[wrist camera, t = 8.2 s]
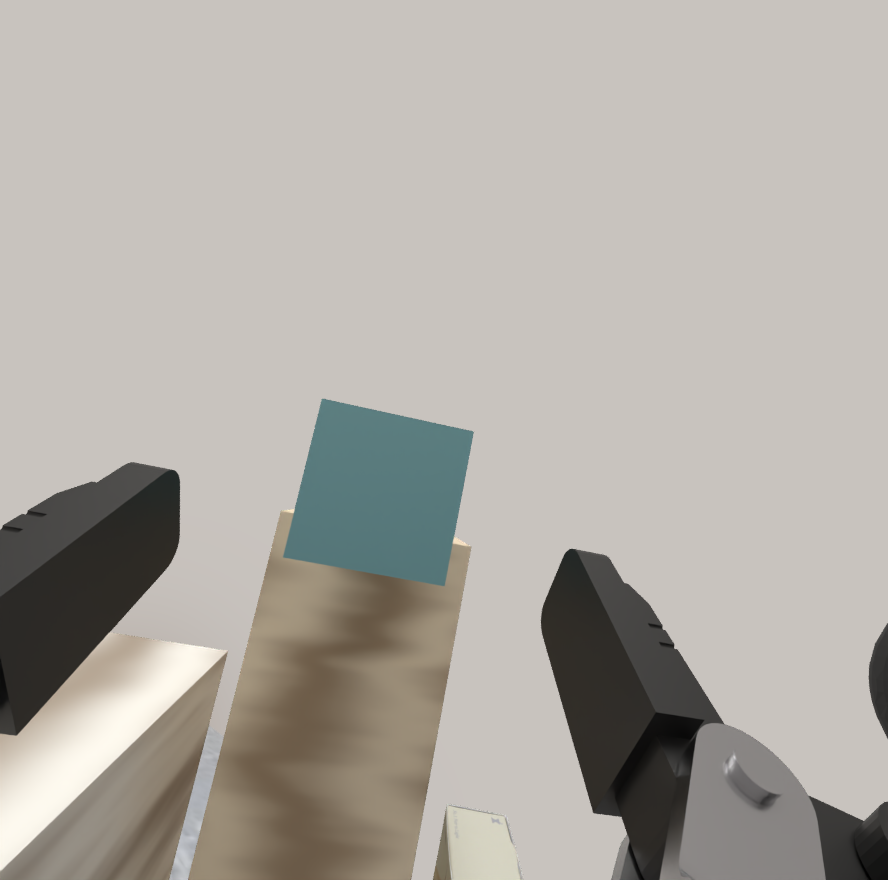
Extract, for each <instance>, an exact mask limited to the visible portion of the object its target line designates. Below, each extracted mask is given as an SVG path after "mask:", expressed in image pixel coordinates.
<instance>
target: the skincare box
mask: <svg viewBox="0 0 888 880" xmlns="http://www.w3.org/2000/svg"><path fill="white" fill-rule="evenodd" d="M433 880H523V876H522V871H521V867H520V863H519V859H518V855H517V851H516V848H515V844H514V840H513V836H512V833H511V830H510V825H509V822H508V818H507V816H506V815H502V814H496V813H492V812H487V811H482V810H477V809H472V808H468V807H461V806H457V805H452V804H447V807H446V813H445V818H444V824H443V830H442V835H441V840H440V846H439V851H438V856H437V861H436V866H435V872H434V878H433Z"/></svg>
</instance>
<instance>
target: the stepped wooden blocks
mask: <svg viewBox="0 0 888 880" xmlns="http://www.w3.org/2000/svg"><path fill="white" fill-rule="evenodd" d="M294 510H295V509H291V510H283V511H281V513H280V517H279V521H278V525H277V529H276V533H275V536H274V541H273V544H272V548H271V552H270V556H269V560H268V564H267V568H266V572H265V576H264V580H263V584H262V588H261V592H260V596H259V600H258V604H257V608H256V612H255V616H254V620H253V624H252V628H251V632H250V636H249V640H248V644H247V648H246V652H245V656H244V660H243V664H242V668H241V672H240V675H239V680H238V683H237V688H236V692H235V695H234V699H233V703H232V707H231V711H230V715H229V719H228V723H227V727H226V732H225V735H224V739H223V743H222V747H221V751H220V755H219V759H218V763H217V767H216V771H215V775H214V779H213V783H212V787H211V791H210V795H209V799H208V802H207V806H206V810H205V814H204V818H203V822H202V826H201V830H200V834H199V838H198V842H197V846H196V850H195V854H194V858H193V862H192V866H191V870H190V874H189V878H188V880H411V877H412V872H413V866H414V861H415V855H416V849H417V843H418V839H419V833H420V828H421V822H422V816H423V810H424V805H425V800H426V794H427V789H428V783H429V778H430V772H431V767H432V761H433V755H434V750H435V745H436V739H437V734H438V728H439V723H440V717H441V712H442V706H443V701H444V695H445V689H446V684H447V679H448V673H449V668H450V662H451V656H452V651H453V645H454V640H455V634H456V629H457V623H458V618H459V612H460V607H461V601H462V595H463V590H464V585H465V579H466V574H467V568H468V562H469V557H470V552H471V546H469V545H467V544H466V543H464V542H463V541H461V540H459V539H458V538H456V537H455V536H454V539H453V545H452V550H451V555H450V561H449V566H448V571H447V577H446V582H445V586H440V585H434V584H429V583H423V582H417V581H412V580H406V579H401V578H395V577H389V576H384V575H378V574H373V573H367V572H362V571H356V570H350V569H345V568H339V567H334V566H328V565H323V564H317V563H311V562H306V561H300V560H295V559H289V558H283V555H284V551H285V547H286V543H287V539H288V535H289V530H290V526H291V522H292V518H293V514H294ZM227 653H228V651H226V650H219V649H213V648H207V647H200V646H193V645H187V644H181V643H174V642H168V641H161V640H155V639H149V638H142V637H135V636H129V635H122V634H116V633H110V632H109V633H108V635H107V636H106V637H105V638H104V639H103V640H102V641H101V642H100V644H99V645H98V646H97V647H96V648H95V649H94V650H93V651H92V652H91V654H90V655H89V656H88V657H87V658H86V659H85V660H84V661H83V663H82V664H81V665H80V666H79V667H78V668H77V669H76V670H75V671H74V673H73V674H72V675H71V676H70V677H69V678H68V679H67V680H66V681H65V683H64V684H63V685H62V686H61V687H60V688H59V689H58V690H57V692H56V693H55V694H54V695H53V696H52V697H51V698H50V699H49V700H48V702H47V703H46V704H45V705H44V706H43V707H42V708H41V709H40V710H39V712H38V713H37V714H36V715H35V716H34V717H33V718H32V719H31V721H30V722H29V723H28V724H27V725H26V726H25V727H24V728H23V729H22V731H21V732H20V733H19V734H18V735H17V736H14V735H6V734H0V880H169V878H170V874H171V870H172V866H173V862H174V858H175V855H176V851H177V847H178V843H179V839H180V835H181V831H182V827H183V824H184V820H185V816H186V812H187V808H188V804H189V800H190V796H191V793H192V789H193V785H194V781H195V777H196V773H197V769H198V765H199V762H200V758H201V754H202V750H203V746H204V742H205V738H206V734H207V731H208V727H209V722H210V719H211V715H212V711H213V707H214V703H215V699H216V696H217V692H218V688H219V684H220V680H221V676H222V672H223V668H224V665H225V661H226V657H227Z"/></svg>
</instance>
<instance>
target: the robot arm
mask: <svg viewBox="0 0 888 880" xmlns="http://www.w3.org/2000/svg"><path fill="white" fill-rule="evenodd" d="M179 535H180V479H179V475H178V474H177V472H176V471H174V470H170V469H165V468H160V467H155V466H149V465H144V464H139V463H134V462H133V463H132V462H131V463H128V464H126V465H124V466H122V467H121V468H119V469H118V470H116V471H114V472H113V473H111V474H110V475H108V476H107V477H105V478H103V479H102V480H100V481H99V482H97V483H96V482H90V483H87V484H84V485H81V486H77V487H74V488H71V489H69V490H65V491H63V492H59V493H57V494H55V495H53V496H52V497H50V498H48V499H46V500H45V501H43V502H41V503H40V504H38V505H36V506H35V507H33V508H31V509H30V510H28V512H27V514H26V515H25V514H21V515H19V516H18V517H16V518H14V519H13V520H11V521H10V522H8V523H6V524H4V525H3V527H2V529H1V530H0V734H6V735H14V736H17V735H18V734H19V733H20V732H21V731H22V729H23V728H24V727H25V726H26V725H27V724H28V723H29V722H30V721H31V719H32V718H33V717H34V716H35V715H36V714H37V713H38V712H39V710H40V709H41V708H42V707H43V706H44V705H45V704H46V703H47V702H48V700H49V699H50V698H51V697H52V696H53V695H54V694H55V693H56V692H57V690H58V689H59V688H60V687H61V686H62V685H63V684H64V683H65V681H66V680H67V679H68V678H69V677H70V676H71V675H72V674H73V673H74V671H75V670H76V669H77V668H78V667H79V666H80V665H81V664H82V663H83V661H84V660H85V659H86V658H87V657H88V656H89V655H90V654H91V652H92V651H93V650H94V649H95V648H96V647H97V646H98V645H99V644H100V642H101V641H102V640H103V639H104V638H105V637H106V636H107V635H108V633H109V632H110V631H111V630H112V629H113V628H114V627H115V626H116V625H117V623H118V622H119V621H120V620H121V619H122V618H123V617H124V616H125V615H126V613H127V612H128V611H129V610H130V609H131V608H132V607H133V605H134V604H135V603H136V602H137V601H138V600H139V599H140V598H141V597H142V595H143V594H144V593H145V592H146V591H147V590H148V589H149V588H150V587H151V585H152V584H153V583H154V582H155V581H156V580H157V579H158V578H159V577H160V575H161V574H162V573H163V572H164V571H165V569H166V568H167V567H168V566H169V564H170V563H171V561H172V559H173V557H174V555H175V553H176V550H177V547H178V543H179ZM541 629H542V635H543V638H544V642H545V645H546V649H547V653H548V656H549V660H550V662H551V667H552V670H553V673H554V677H555V681H556V684H557V688H558V691H559V695H560V698H561V702H562V705H563V709H564V712H565V715H566V719H567V723H568V726H569V729H570V733H571V736H572V740H573V743H574V747H575V750H576V754H577V757H578V761H579V764H580V768H581V771H582V774H583V778H584V782H585V785H586V789H587V792H588V796H589V799H590V803H591V806H592V810H593V813H596V814H604V815H612V816H620V817H622V820H623V823H624V825H625V829H626V831H627V835H626V837H625V838H624V840H623V841H622V843H621V846H620V848H619V852H618V856H617V859H616V863H615V867H614V871H613V875H612V879H611V880H888V802H884V803H883V804H881V805H880V806H879V807H878V808H877V809H876V810H875V811H874V812H873V813H872V814H871V815H870V816H869V817H868V818H867V819H866V820H865V821H863V820H860V819H858V818H856V817H854V816H852V815H850V814H847V813H845V812H843V811H841V810H839V809H837V808H834V807H832V806H830V805H828V804H825V803H824V802H821V801H819V800H817V799H815V798H812V797H811V796H808V795H807V793H806V791H805V789H804V788H803V787H802V785H801V784H800V782H799V781H798V779H797V778H796V777H795V776H794V775H793V773H792V772H791V771H790V769H788V767H787V766H786V765H785V764H784V763H783V762H782V761H781V760H780V759H779V758H778V757H777V756H776V755H775V754H774V753H773V752H771V751H770V750H769V749H768V748H767V747H765V746H764V745H763V744H761V743H760V742H759V741H757V740H756V739H754V738H753V737H751V736H750V735H748V734H746V733H744V732H743V731H740V730H738V729H736V728H734V727H731V726H728V725H725V724H724V723H723V721H722V720H721V718H720V717H719V715H718V713H717V712H716V710H715V708H714V707H713V705H712V704H711V702H710V701H709V699H708V697H707V696H706V694H705V692H704V691H703V690H702V688H701V686H700V684H699V683H698V681H697V680H696V678H695V677H694V675H693V674H692V672H691V670H690V669H689V667H688V665H687V664H686V662H685V661H684V659H683V657H682V656H681V654H680V653H679V651H678V650H677V649H674V643H673V642H672V640H671V639H670V637H669V636H668V634H667V632H666V631H665V630H663V629H662V624H661V622H660V621H659V619H658V618H657V616H656V614H655V613H654V611H653V610H652V608H651V606H650V605H649V604H648V603H647V602H646V601H645V600H644V599H643V598H642V597H641V596H640V595H639V594H638V593H637V592H636V591H635V590H634V589H633V588H632V587H631V586H630V585H629V584H626V583H624V582H623V581H622V579H621V577H620V576H619V574H618V572H617V570H616V569H615V567H614V566H613V564H612V562H611V560H610V559H609V558H608V557H607V556H605V555H602V554H596V553H591V552H586V551H581V550H576V549H569V550H568V551H567V552H566V553H565V555H564V557H563V559H562V561H561V564H560V566H559V569H558V571H557V573H556V576H555V578H554V581H553V583H552V585H551V588H550V590H549V593H548V595H547V597H546V600H545V602H544V605H543V609H542V616H541ZM869 687H870V693H871V698H872V703H873V706H874V709H875V712H876V715H877V718H878V720H879V721H880V724H881V726H882V728H883V730H884V732H885V734H886V736H887V738H888V624H887V625H886V627H885V628H884V630H883V632H882V633H881V635H880V637H879V638H878V640H877V642H876V643H875V646H874V650H873V654H872V657H871V661H870V665H869Z"/></svg>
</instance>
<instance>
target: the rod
mask: <svg viewBox="0 0 888 880" xmlns="http://www.w3.org/2000/svg"><path fill="white" fill-rule="evenodd" d="M473 433H474V432H473V431H469V430H463V429H459V428H454V427H450V426H446V425H441V424H436V423H431V422H427V421H422V420H418V419H413V418H408V417H404V416H400V415H395V414H390V413H386V412H381V411H377V410H372V409H368V408H363V407H358V406H354V405H349V404H344V403H340V402H336V401H331V400H326V399H322V401H321V405H320V409H319V414H318V417H317V421H316V425H315V429H314V433H313V438H312V441H311V445H310V450H309V454H308V458H307V462H306V466H305V470H304V474H303V478H302V482H301V486H300V490H299V494H298V498H297V502H296V506H295V510H294V514H293V518H292V522H291V526H290V530H289V535H288V539H287V543H286V547H285V551H284V555H283V558H289V559H295V560H300V561H306V562H311V563H317V564H323V565H328V566H334V567H339V568H345V569H350V570H356V571H362V572H367V573H373V574H378V575H384V576H389V577H395V578H401V579H406V580H412V581H417V582H423V583H429V584H434V585H440V586H445V582H446V577H447V571H448V566H449V561H450V555H451V550H452V545H453V539H454V534H455V528H456V523H457V518H458V513H459V507H460V502H461V496H462V491H463V486H464V481H465V476H466V470H467V465H468V459H469V454H470V449H471V444H472V438H473Z"/></svg>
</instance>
